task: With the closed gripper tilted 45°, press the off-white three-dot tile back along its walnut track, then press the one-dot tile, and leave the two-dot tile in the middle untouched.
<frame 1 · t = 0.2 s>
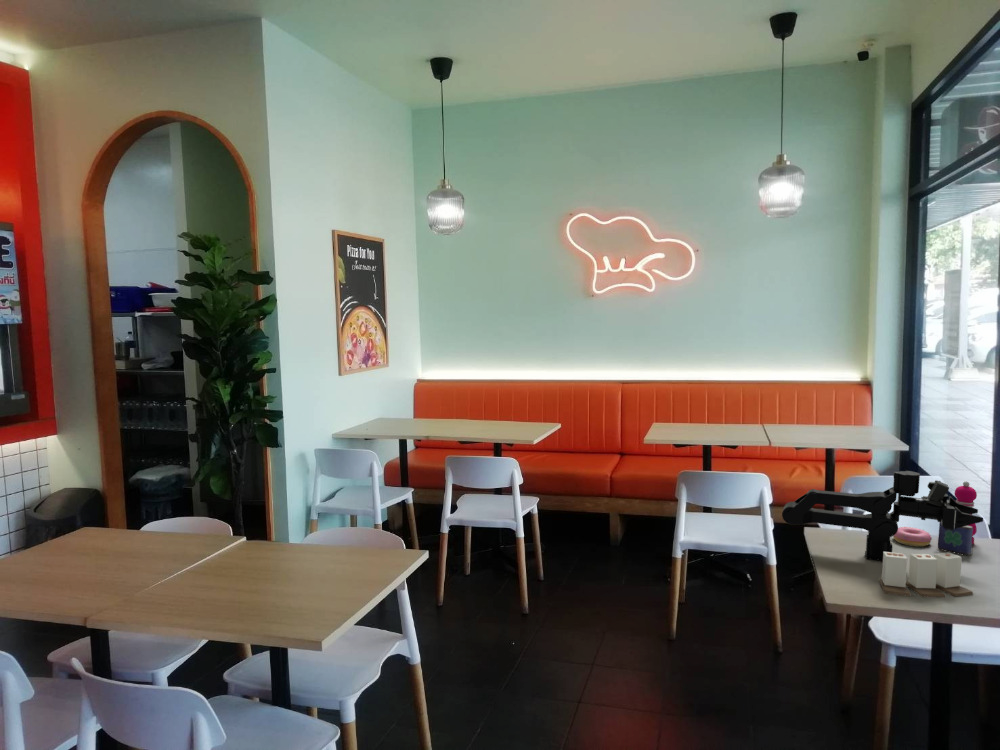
hand: (980, 515, 203), 17 cm above the table, tool horizontal, fingers open, 9 cm apart
pepper mill: (962, 542, 231), on the table
doughnut: (911, 543, 230), on the table
tile tracks: (919, 587, 193), on the table
one-dot tile: (946, 569, 192), point 5 cm above the table, slide at 0.0 cm
flask: (953, 552, 221), on the table
two-dot tile: (922, 570, 192), point 5 cm above the table, slide at 0.0 cm
three-dot tile: (894, 568, 193), point 5 cm above the table, slide at 0.0 cm
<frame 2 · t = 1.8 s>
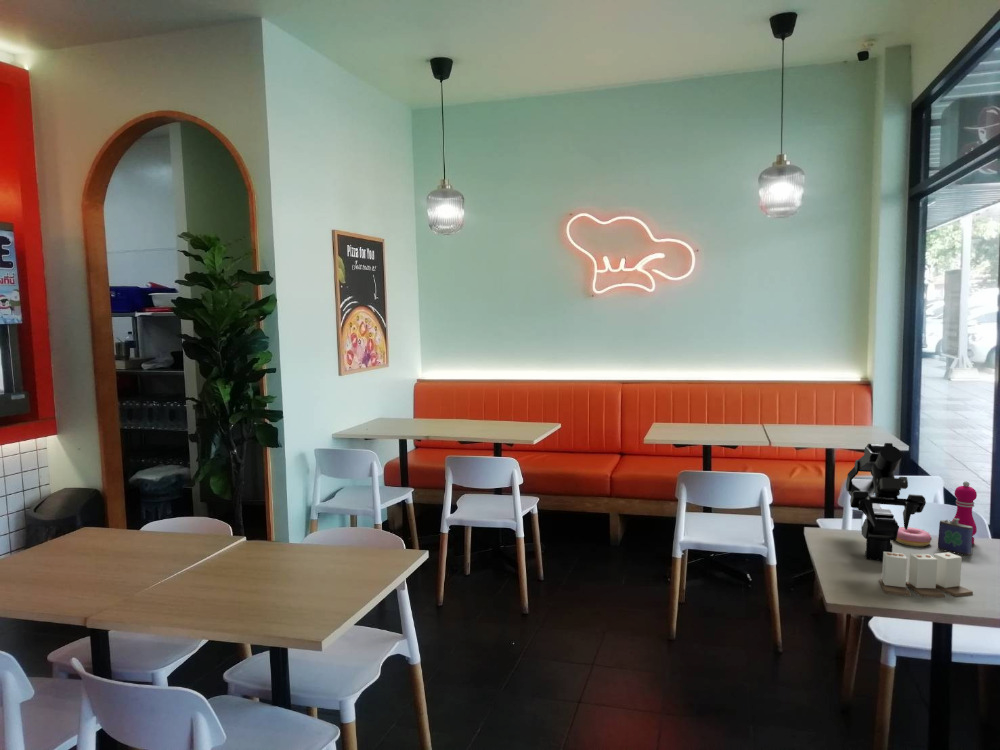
hand: (890, 527, 201), 14 cm above the table, tool tilted 45°, fingers open, 8 cm apart
nothing on the table moved.
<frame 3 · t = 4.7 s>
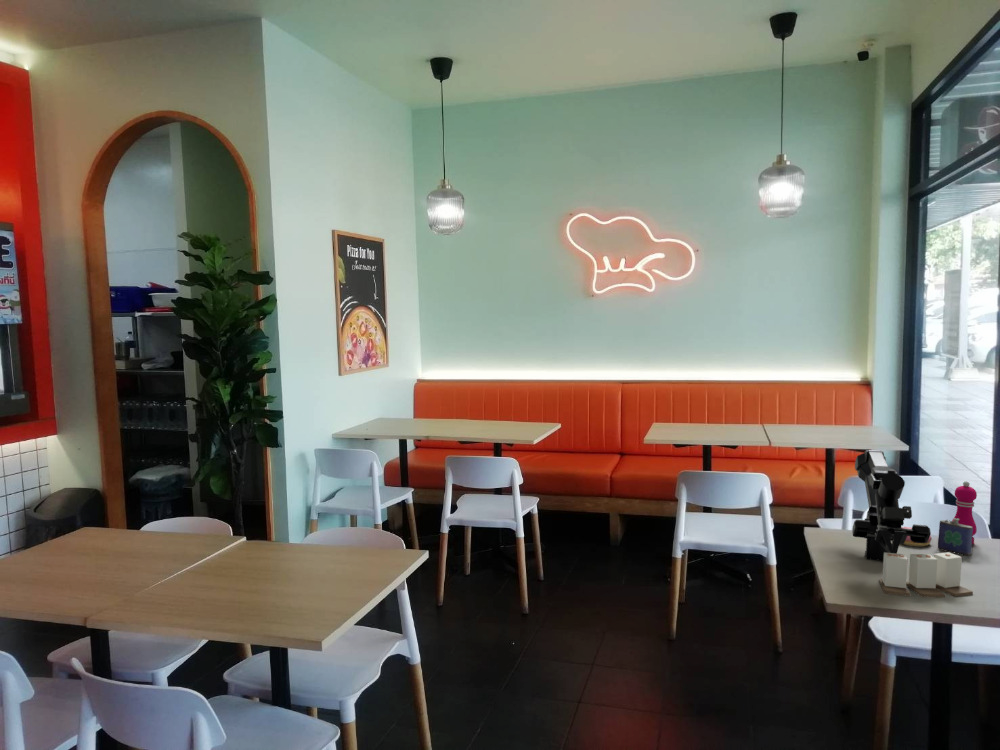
hand: (893, 559, 194), 7 cm above the table, tool tilted 45°, fingers closed, pressing on three-dot tile
three-dot tile: (894, 569, 192), point 5 cm above the table, slide at 0.7 cm, touching gripper
everything else where it was.
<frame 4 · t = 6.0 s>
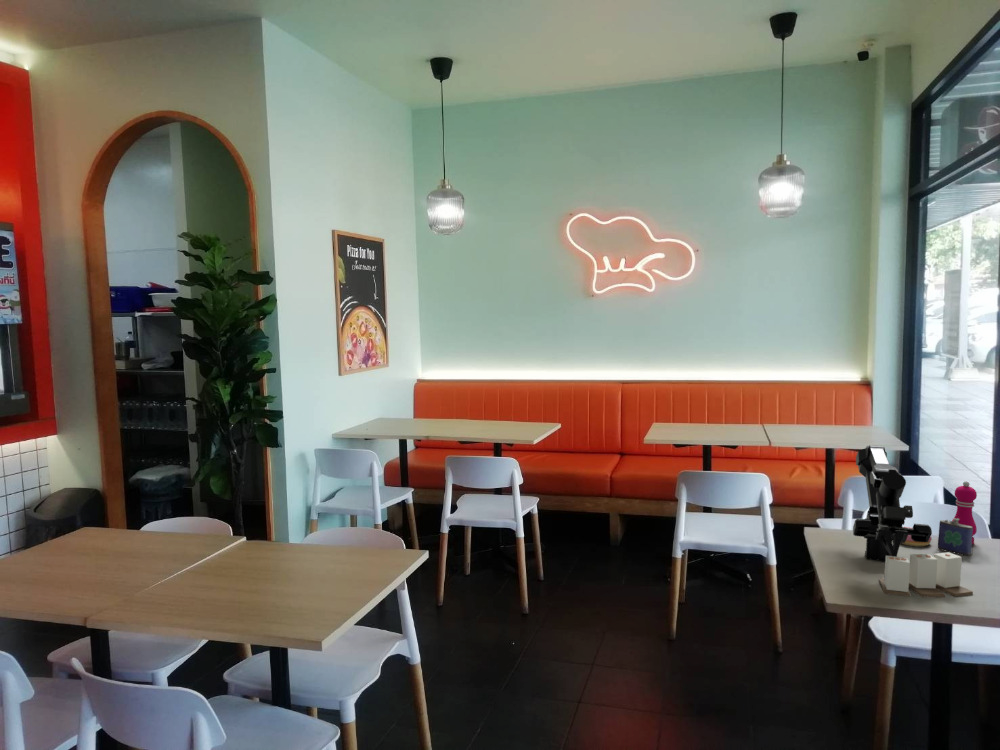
hand: (894, 558, 193), 8 cm above the table, tool tilted 45°, fingers closed
three-dot tile: (896, 573, 190), point 5 cm above the table, slide at 3.3 cm
everything else where it was.
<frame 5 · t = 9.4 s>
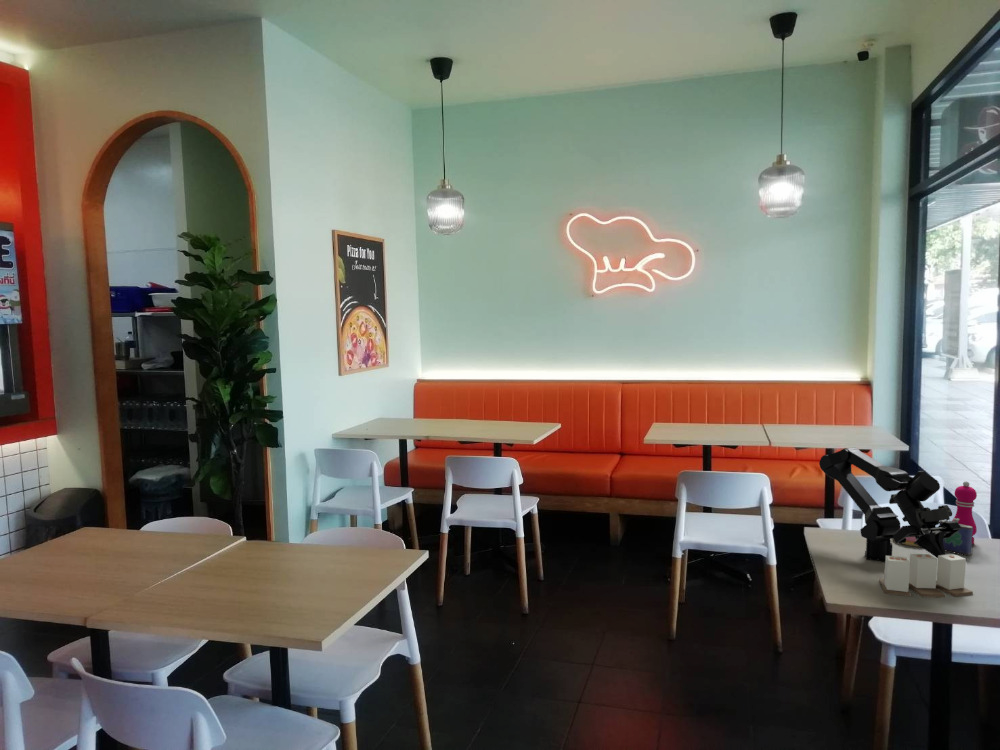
hand: (944, 560, 193), 7 cm above the table, tool tilted 45°, fingers closed, pressing on one-dot tile
one-dot tile: (951, 571, 191), point 5 cm above the table, slide at 1.3 cm, touching gripper
everything else where it was.
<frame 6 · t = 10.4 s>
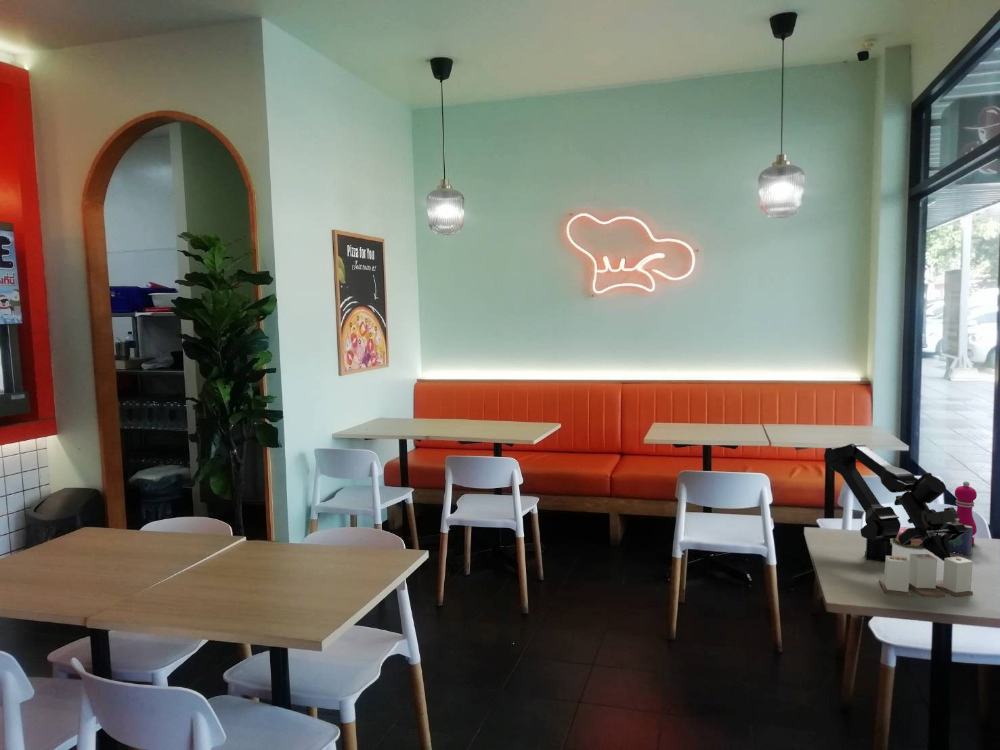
hand: (949, 563, 192), 7 cm above the table, tool tilted 45°, fingers closed
one-dot tile: (957, 573, 189), point 5 cm above the table, slide at 3.3 cm
everything else where it was.
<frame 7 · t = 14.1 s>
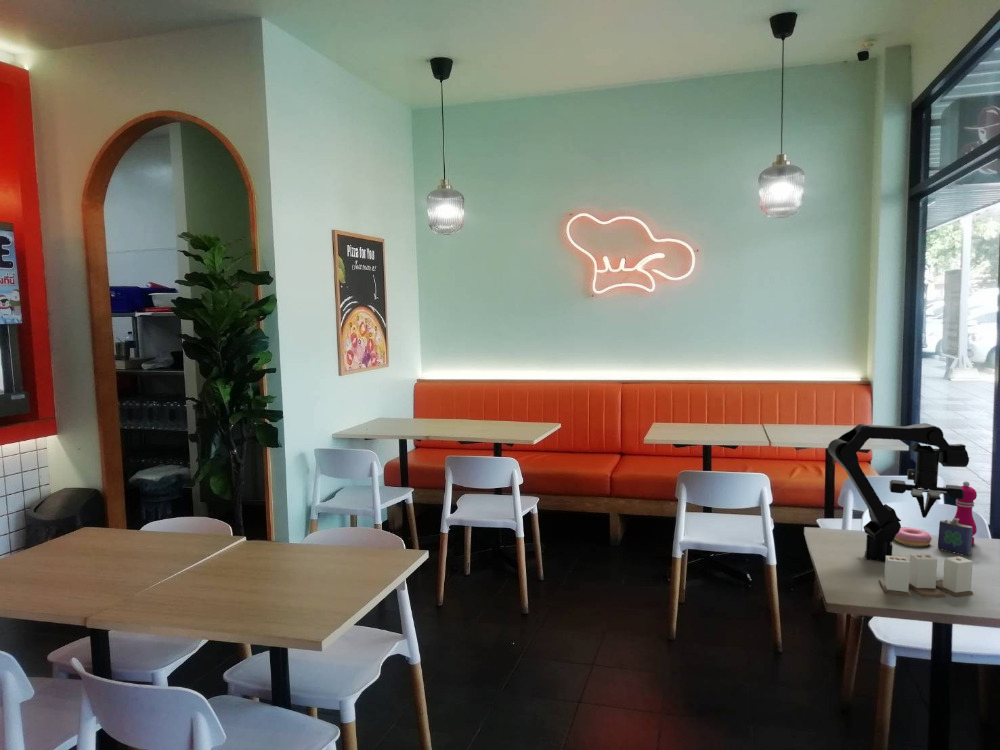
hand: (924, 517, 213), 13 cm above the table, tool pointing down, fingers closed
nothing on the table moved.
at the end: three-dot tile slide at 3.3 cm; one-dot tile slide at 3.3 cm; two-dot tile slide at 0.0 cm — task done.
